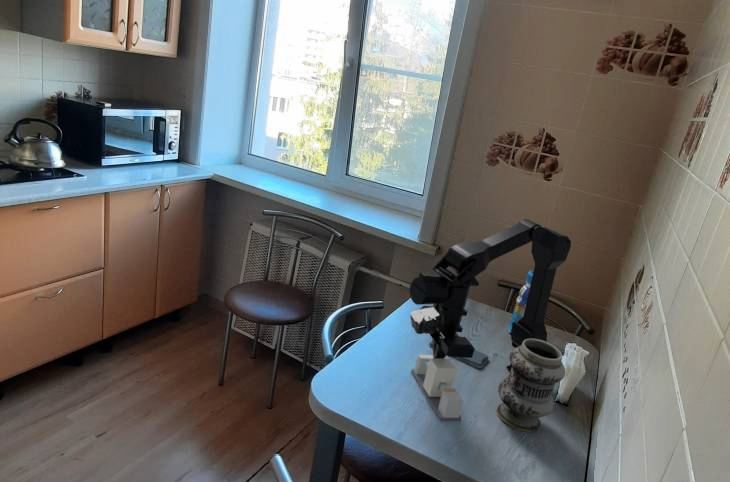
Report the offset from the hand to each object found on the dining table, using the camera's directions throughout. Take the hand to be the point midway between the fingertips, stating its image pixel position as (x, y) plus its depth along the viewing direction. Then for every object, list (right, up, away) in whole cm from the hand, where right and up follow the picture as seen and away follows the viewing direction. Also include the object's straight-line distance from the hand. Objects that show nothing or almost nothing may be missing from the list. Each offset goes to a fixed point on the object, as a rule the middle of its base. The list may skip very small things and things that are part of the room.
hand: (436, 362), depth 120 cm
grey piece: (-1, -7, -1) cm, 7 cm away
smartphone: (+9, -3, +21) cm, 23 cm away
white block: (0, -6, -1) cm, 6 cm away
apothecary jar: (+18, -12, -3) cm, 22 cm away
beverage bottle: (+31, -1, +40) cm, 51 cm away
